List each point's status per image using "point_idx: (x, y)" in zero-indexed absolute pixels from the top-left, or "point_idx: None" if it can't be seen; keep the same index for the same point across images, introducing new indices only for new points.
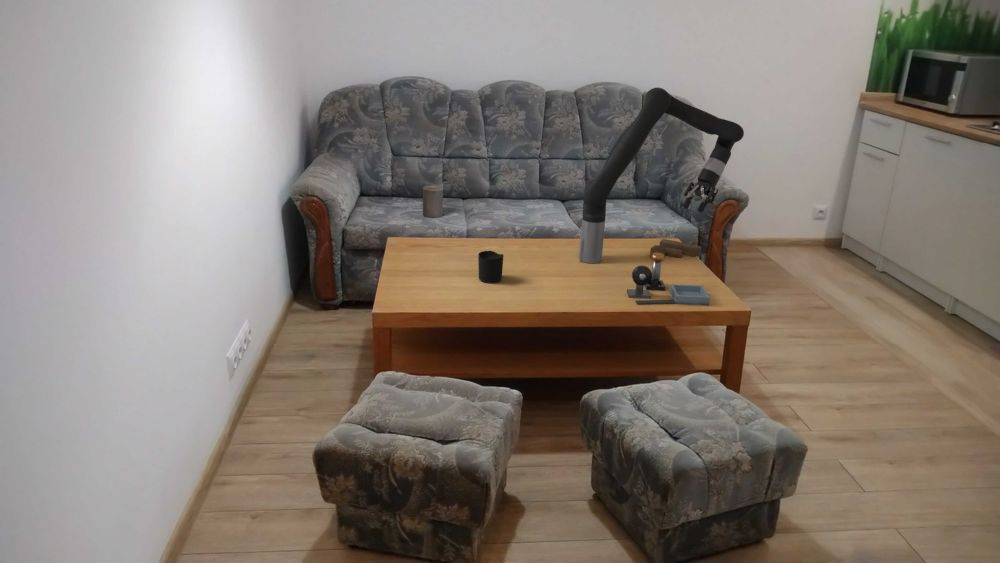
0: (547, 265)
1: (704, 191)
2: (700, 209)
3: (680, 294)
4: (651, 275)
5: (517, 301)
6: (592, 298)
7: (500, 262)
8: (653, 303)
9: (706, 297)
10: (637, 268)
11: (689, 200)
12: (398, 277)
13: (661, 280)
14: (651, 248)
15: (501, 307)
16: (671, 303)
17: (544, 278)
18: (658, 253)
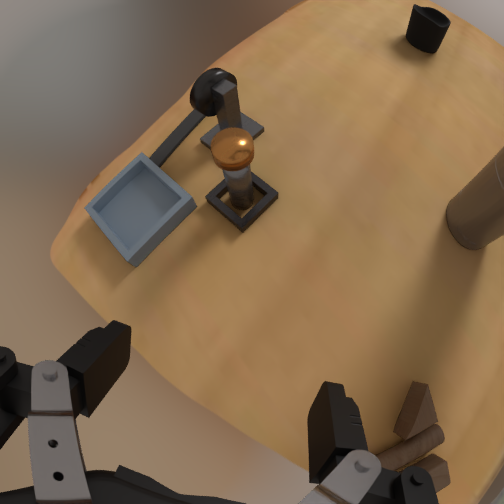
0: (462, 130)
1: (36, 477)
2: (99, 329)
3: (159, 200)
4: (191, 99)
5: (330, 17)
6: (278, 70)
7: (414, 17)
8: (179, 126)
9: (90, 202)
10: (218, 68)
11: (320, 461)
12: (448, 14)
13: (243, 226)
14: (426, 387)
15: (322, 3)
16: (153, 155)
17: (402, 81)
18: (237, 151)
